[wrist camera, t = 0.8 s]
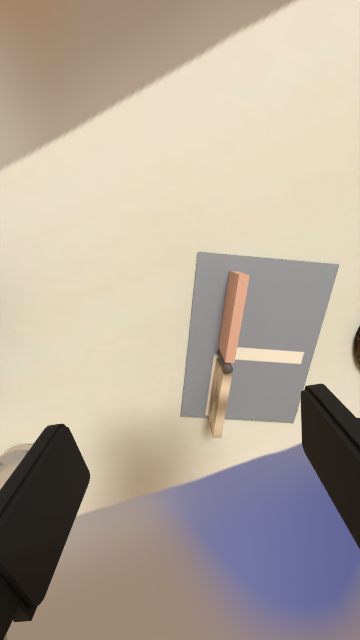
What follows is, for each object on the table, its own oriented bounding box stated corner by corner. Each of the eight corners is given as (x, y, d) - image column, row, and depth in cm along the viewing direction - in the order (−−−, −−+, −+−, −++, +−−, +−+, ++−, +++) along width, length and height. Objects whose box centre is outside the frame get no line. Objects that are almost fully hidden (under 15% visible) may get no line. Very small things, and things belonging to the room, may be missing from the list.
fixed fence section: (215, 413, 37) (221, 438, 32) (208, 412, 37) (212, 437, 32) (225, 348, 34) (233, 365, 29) (217, 348, 34) (224, 365, 29)
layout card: (292, 421, 38) (293, 423, 38) (180, 415, 38) (180, 416, 37) (337, 264, 31) (339, 264, 30) (197, 251, 30) (198, 251, 29)
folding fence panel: (226, 347, 33) (234, 363, 29) (218, 346, 33) (224, 362, 29) (238, 271, 30) (249, 275, 25) (229, 270, 30) (239, 274, 25)
